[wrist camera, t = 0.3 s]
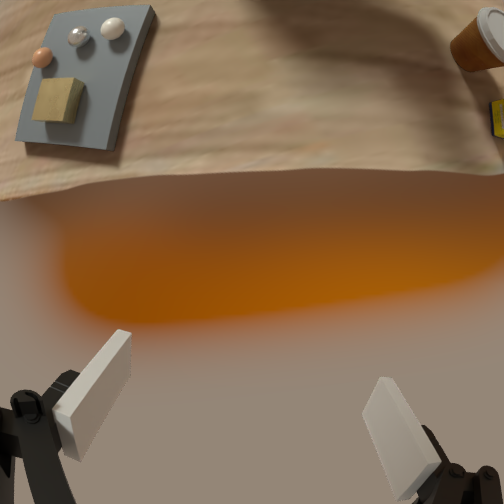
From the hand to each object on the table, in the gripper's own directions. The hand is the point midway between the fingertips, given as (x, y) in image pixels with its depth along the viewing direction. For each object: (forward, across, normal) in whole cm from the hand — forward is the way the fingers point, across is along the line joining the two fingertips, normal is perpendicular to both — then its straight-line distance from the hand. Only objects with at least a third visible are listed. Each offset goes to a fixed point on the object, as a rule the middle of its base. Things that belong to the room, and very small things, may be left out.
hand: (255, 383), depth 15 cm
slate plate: (+27, -31, +21) cm, 46 cm away
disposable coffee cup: (+28, +26, +40) cm, 55 cm away
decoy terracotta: (+23, -37, +24) cm, 49 cm away
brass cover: (+25, -31, +16) cm, 43 cm away
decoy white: (+23, -25, +27) cm, 44 cm away
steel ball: (+23, -31, +26) cm, 47 cm away
